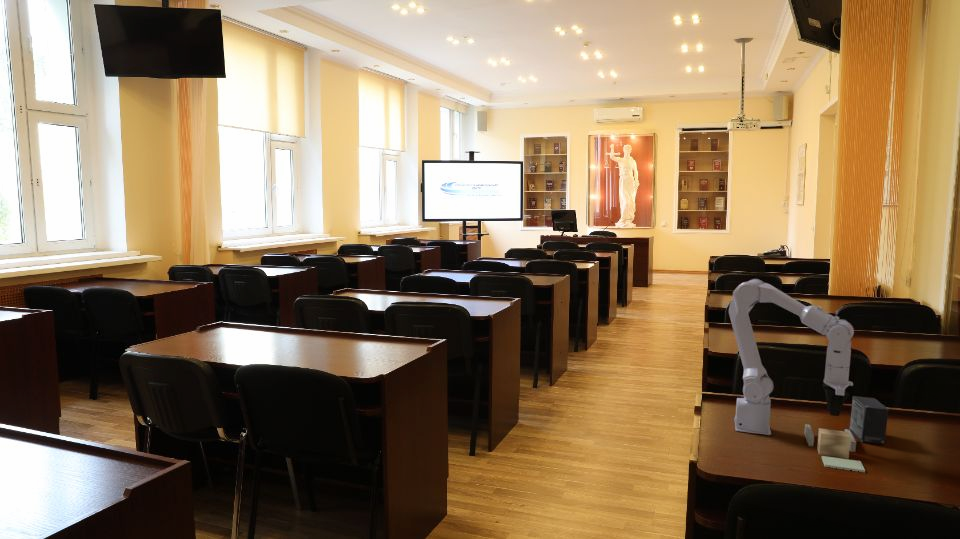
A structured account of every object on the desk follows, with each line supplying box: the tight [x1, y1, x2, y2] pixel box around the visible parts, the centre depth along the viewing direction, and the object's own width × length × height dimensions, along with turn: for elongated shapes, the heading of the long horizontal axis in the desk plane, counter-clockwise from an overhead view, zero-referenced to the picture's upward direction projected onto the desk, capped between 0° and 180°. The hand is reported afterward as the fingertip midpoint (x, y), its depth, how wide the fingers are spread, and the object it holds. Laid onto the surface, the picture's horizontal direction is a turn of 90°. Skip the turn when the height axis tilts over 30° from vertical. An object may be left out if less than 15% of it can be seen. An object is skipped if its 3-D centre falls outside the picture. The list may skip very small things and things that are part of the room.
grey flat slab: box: [804, 424, 857, 453], centre depth 185 cm, size 11×10×3 cm
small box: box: [848, 395, 889, 445], centre depth 189 cm, size 11×6×10 cm, turn 168°
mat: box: [821, 455, 866, 473], centre depth 170 cm, size 9×6×1 cm, turn 70°
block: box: [816, 427, 850, 460], centre depth 177 cm, size 7×4×6 cm, turn 70°
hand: (833, 413), depth 181 cm, fingers open, 3 cm apart
